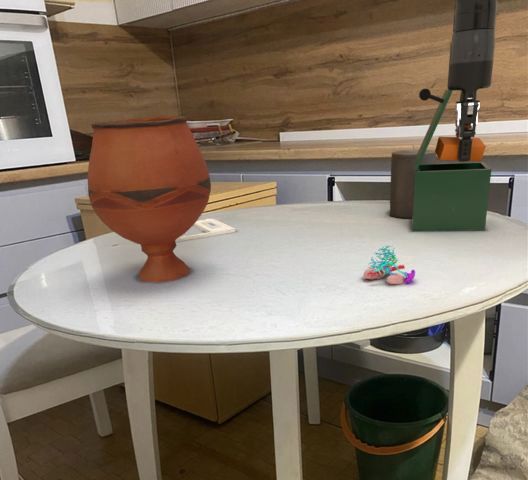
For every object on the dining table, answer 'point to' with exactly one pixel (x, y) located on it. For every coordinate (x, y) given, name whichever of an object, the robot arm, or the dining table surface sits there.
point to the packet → (450, 147)
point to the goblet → (149, 187)
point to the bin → (450, 197)
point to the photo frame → (208, 229)
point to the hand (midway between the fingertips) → (462, 159)
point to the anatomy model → (388, 269)
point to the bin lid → (426, 95)
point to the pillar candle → (405, 180)
